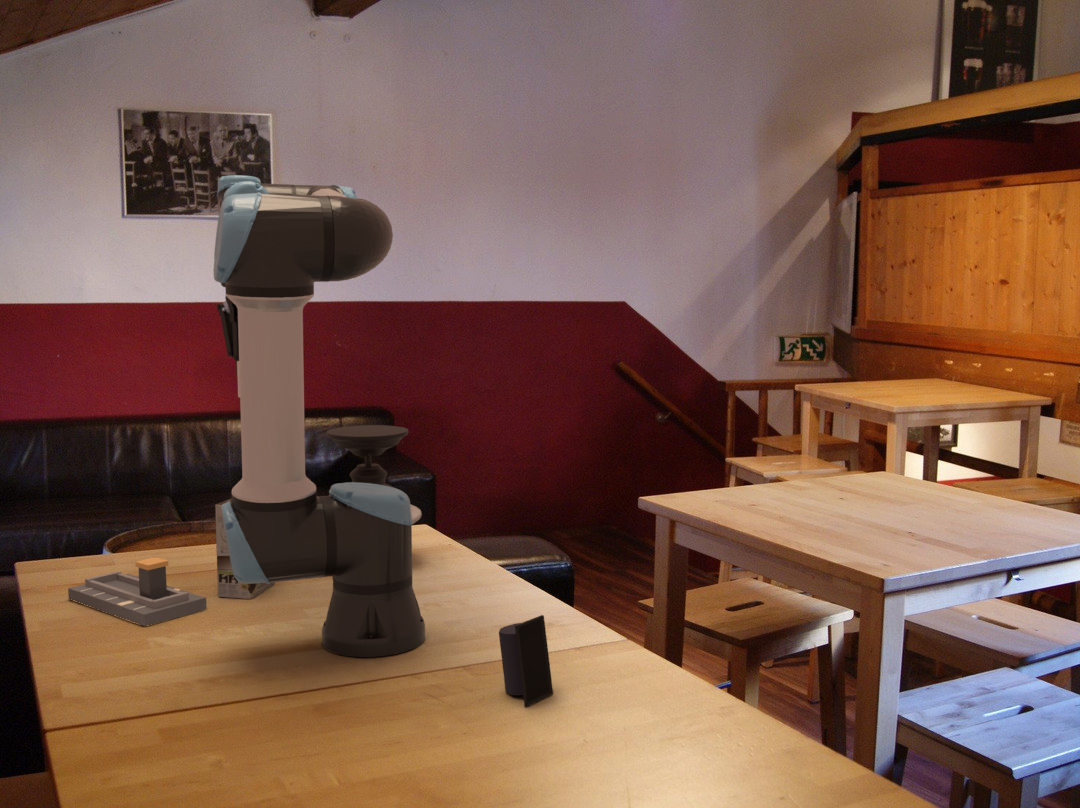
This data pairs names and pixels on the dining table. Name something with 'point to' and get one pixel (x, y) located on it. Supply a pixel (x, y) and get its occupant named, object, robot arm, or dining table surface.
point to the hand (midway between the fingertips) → (247, 396)
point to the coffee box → (226, 579)
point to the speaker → (526, 660)
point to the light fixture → (370, 451)
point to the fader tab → (152, 577)
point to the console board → (134, 599)
